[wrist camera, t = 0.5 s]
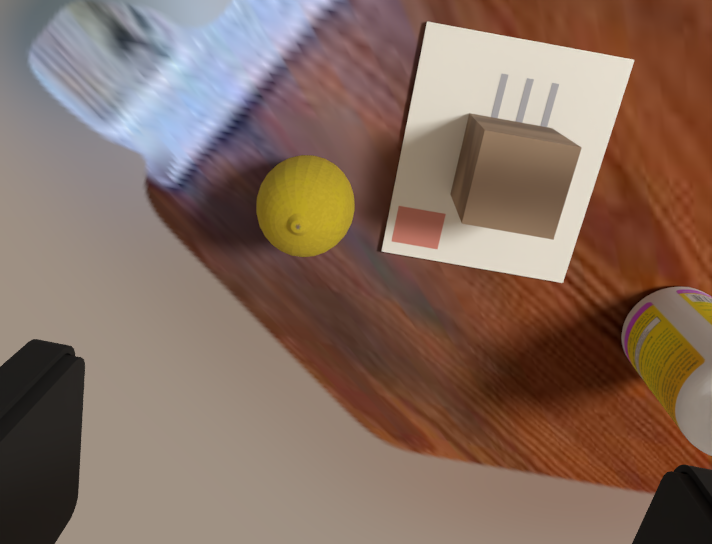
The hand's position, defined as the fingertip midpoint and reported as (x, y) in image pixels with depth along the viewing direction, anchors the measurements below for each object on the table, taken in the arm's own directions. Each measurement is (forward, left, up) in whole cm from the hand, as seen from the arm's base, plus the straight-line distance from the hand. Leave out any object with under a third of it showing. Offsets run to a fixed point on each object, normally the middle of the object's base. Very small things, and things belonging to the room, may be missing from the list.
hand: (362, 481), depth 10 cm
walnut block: (0, +8, -30) cm, 31 cm away
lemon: (+4, -3, -31) cm, 31 cm away
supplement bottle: (+9, +22, -31) cm, 39 cm away
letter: (0, +8, -31) cm, 32 cm away
